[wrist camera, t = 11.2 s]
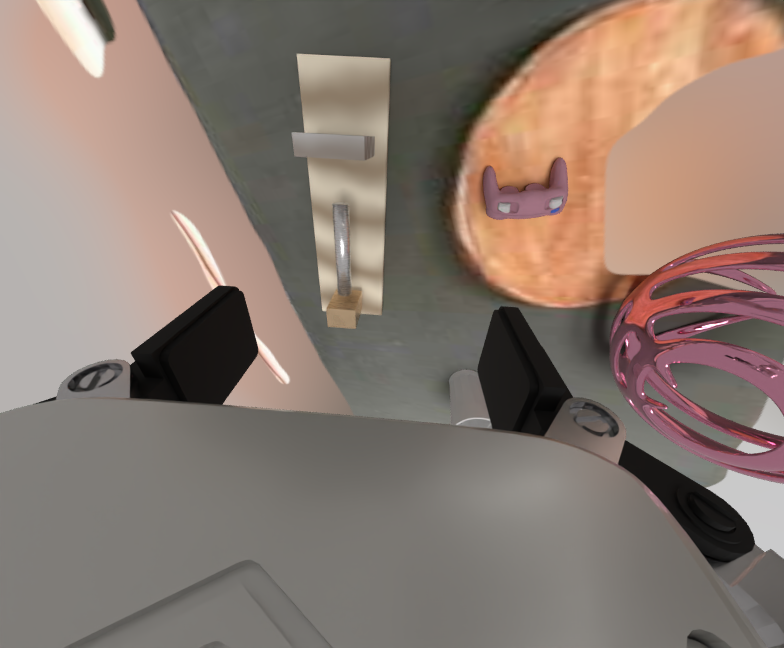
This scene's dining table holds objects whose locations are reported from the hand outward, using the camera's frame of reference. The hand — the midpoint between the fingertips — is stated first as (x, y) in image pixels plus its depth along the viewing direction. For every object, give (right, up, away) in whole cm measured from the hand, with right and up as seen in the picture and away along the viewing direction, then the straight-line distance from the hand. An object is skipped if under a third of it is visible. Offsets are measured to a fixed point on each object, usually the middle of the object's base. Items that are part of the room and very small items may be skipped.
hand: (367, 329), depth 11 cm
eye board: (-5, +16, +30) cm, 34 cm away
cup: (+15, -11, +46) cm, 50 cm away
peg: (-5, +10, +30) cm, 32 cm away
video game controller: (+18, +18, +27) cm, 37 cm away
